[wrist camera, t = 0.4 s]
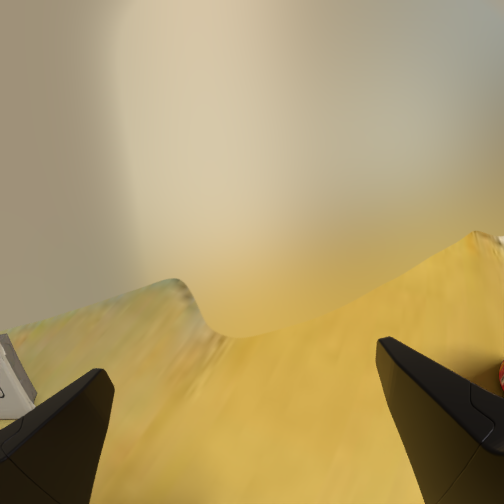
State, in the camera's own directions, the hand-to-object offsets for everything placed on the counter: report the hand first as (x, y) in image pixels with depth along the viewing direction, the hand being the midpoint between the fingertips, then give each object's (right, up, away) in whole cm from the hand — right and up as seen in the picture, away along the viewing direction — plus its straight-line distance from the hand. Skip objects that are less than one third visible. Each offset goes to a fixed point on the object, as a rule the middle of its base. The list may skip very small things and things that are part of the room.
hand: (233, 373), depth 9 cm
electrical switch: (-27, -14, +14) cm, 33 cm away
